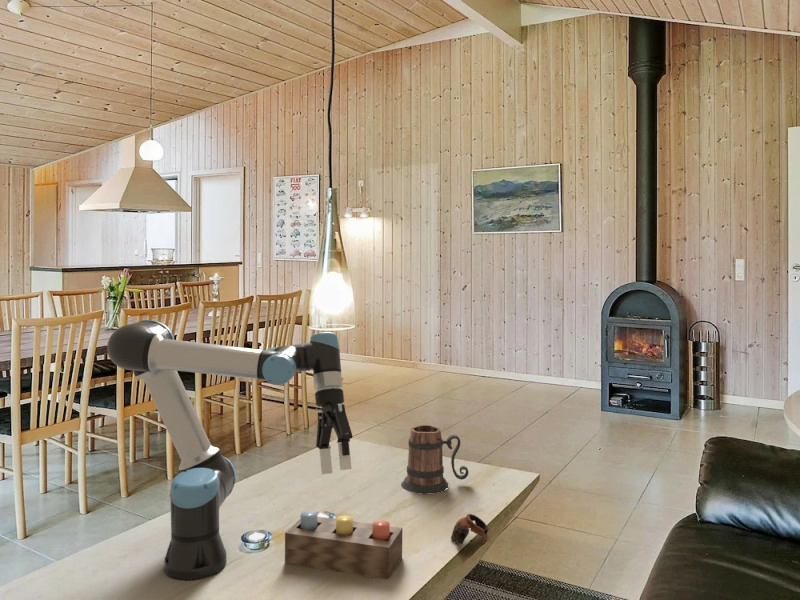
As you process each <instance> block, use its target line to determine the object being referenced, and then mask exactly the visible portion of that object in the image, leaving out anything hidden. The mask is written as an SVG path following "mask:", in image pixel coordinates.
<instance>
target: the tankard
mask: <svg viewBox="0 0 800 600" xmlns="http://www.w3.org/2000/svg"><path fill="white" fill-rule="evenodd" d="M455 439H456V440H457V444H456V445H455V448H454V450H453V452H452V454H451V459H450V460H451V461H450V464H451V469H452V473H453V474H454V476H455V478H457V479H459V480H465V479H466V478H467V477H468V476H469V469H468V467H467V466H465V465H462V466H460V467H459V473H460V474H461V475H460V474H458V473H457V471H456V469H455V459H456V454H457V453H458V451H459V449H460V447H461V442H462V441H461V439H460V437H459V436H458V435H457V434H451V435H450V436H449V437H447V439H446V440H443V438H442V432H441V428H439V427H436V426H434V425H429V424H428V425H427V424H422V425H418V426H417V425H416V426H413V427H412V428H411V429H410V435H409V438H408V442H407V443H408V455H407V456H408V457H407V465H406V473H407V474H406V475H407V476H405V478H404V480H403V481H402V482H401V483H400V487H401V488H402V489H403V490H405V491H407V492H409V493H413V492H414V493H413V494H419V493H422V494H421V495H428V494H427V493H435V494H438V493H437V492H440V493H442V492H441V491H443V492H445V491H446V490H445V489H446V488H448V484H449V483H448V482H447V479H446V478H445V477H444V472H445V471H444V465H443V459H444V458H443V445H446V446H447V448H448V449H449V450H452V449H453V447H452V440H455ZM463 470H465V472H464V471H463ZM448 489H449V488H448ZM444 490H445V491H444Z"/></svg>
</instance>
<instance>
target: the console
mask: <svg viewBox="0 0 800 600" xmlns="http://www.w3.org/2000/svg"><path fill="white" fill-rule="evenodd" d="M372 524H373V523H368V522H363V521H361V522H360V521H354V520H353V533H352V534H351V536H348V535H341V534H336V518H330V517H323V516H322V517H321V516H317V528H316V529H315V530H314V531H312V530H305V529H301V518H299V519H298V521H296V522H295V523H294V524H293V525H292V526H291V527H289V528H288V530H286V531H285V532H284V564H288V563H289V565H293V566H294V565H296V566H301V567H308V568H314V569H320V570H327V571H331V572H340V573H346V574H351V575H359V576H365V577H370V578H376V579H383V580H390V578H391V577H392V575H393V573H394V571H395V570H396V569H397V567H398V565H399V564H400V562H401V560H402V558H403V527H399V526H392V525H391V526H390V539H389V540H388V541H383V540H376V539H372Z"/></svg>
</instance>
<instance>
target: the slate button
mask: <svg viewBox="0 0 800 600" xmlns="http://www.w3.org/2000/svg"><path fill="white" fill-rule="evenodd" d="M317 517H318V512H316V511H313V510H306V511H303V512H301V513H300V519H301V529H305V530H312V531H314V530H315V529H316V528H317Z"/></svg>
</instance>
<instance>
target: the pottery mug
mask: <svg viewBox="0 0 800 600" xmlns="http://www.w3.org/2000/svg"><path fill="white" fill-rule="evenodd" d="M489 529H490V528H489V527H488V525H487V523H485V522H484V520H483V519H481V518H480V517H478V516H476V515H475V514H472V513H467V514H466V516H464V517H461V518H460V519H458V520H457V521H456V523H455V525H454V527H453V530H452V532H451V535H450V536H451V537H450V538H451V539H450V540H451V542H452V541H453V542H455V543H456V542H457V544H459V545H464V542H465V539H466V538H467V536H468V535H469V534H470V532H473V533H474V534H476V535H478V536H480V537H481V538H482V539H481V542H480V546H484V545H485V543H486V541H487V540H488V532H489ZM453 542H452V543H453Z"/></svg>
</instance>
